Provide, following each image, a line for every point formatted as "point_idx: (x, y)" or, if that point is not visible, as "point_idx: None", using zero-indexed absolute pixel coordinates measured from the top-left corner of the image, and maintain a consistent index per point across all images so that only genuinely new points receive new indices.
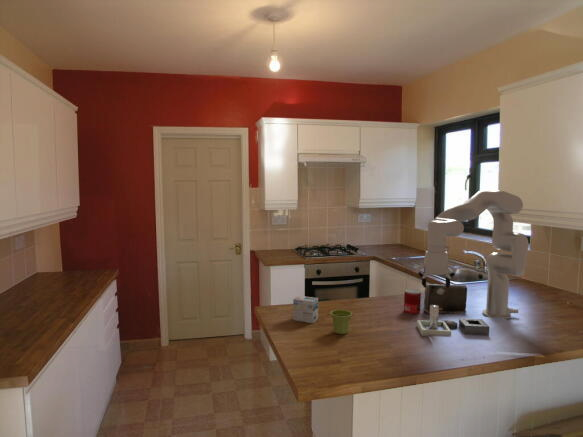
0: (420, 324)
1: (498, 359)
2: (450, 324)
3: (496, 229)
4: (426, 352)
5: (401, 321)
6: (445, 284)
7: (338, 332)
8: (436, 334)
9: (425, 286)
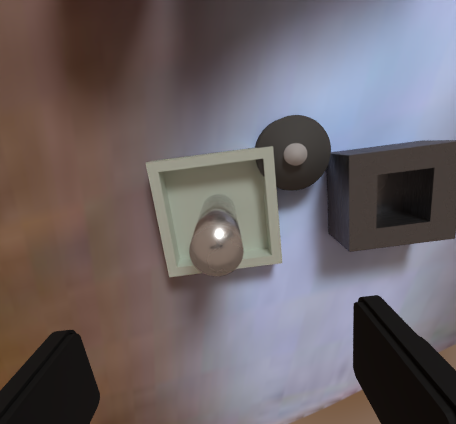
0: (161, 217)
1: None
2: (295, 172)
3: None
4: (185, 381)
5: (79, 118)
6: (365, 315)
7: None
8: None
9: (88, 414)
